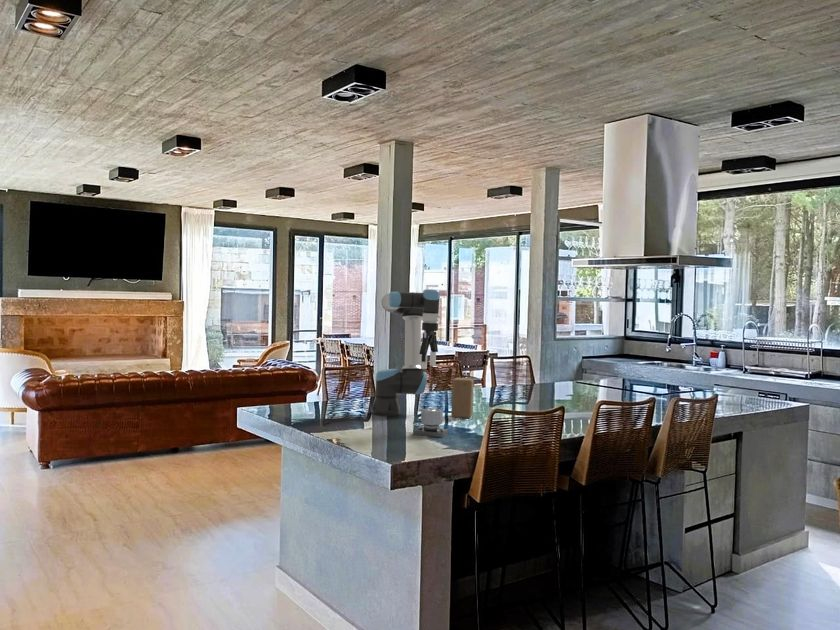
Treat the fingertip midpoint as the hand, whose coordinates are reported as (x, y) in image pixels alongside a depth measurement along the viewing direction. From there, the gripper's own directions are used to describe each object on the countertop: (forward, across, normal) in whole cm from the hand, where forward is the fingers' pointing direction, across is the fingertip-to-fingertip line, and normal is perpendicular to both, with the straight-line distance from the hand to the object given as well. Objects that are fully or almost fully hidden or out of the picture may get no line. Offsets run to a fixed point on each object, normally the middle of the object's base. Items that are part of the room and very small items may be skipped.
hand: (428, 367), depth 334 cm
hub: (+24, -13, -7) cm, 28 cm away
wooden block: (+30, +42, -7) cm, 52 cm away
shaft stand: (+29, -13, -7) cm, 32 cm away
